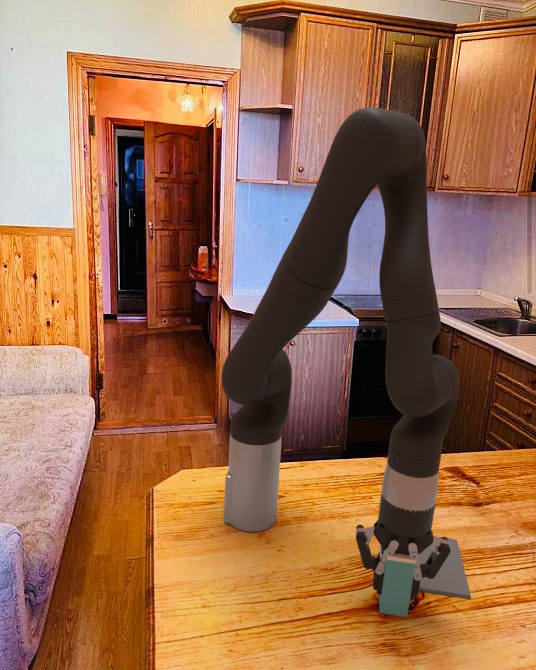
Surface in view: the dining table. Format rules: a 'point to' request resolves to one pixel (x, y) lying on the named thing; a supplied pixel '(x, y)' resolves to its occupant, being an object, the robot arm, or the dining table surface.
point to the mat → (446, 574)
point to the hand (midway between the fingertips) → (394, 592)
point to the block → (397, 585)
